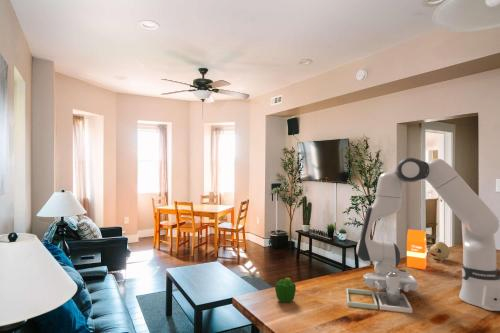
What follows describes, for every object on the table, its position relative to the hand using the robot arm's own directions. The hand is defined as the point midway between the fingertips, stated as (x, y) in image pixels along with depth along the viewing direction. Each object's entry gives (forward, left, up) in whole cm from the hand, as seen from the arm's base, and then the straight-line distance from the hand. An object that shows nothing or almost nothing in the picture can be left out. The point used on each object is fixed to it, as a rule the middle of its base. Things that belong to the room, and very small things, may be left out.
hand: (393, 288), depth 123 cm
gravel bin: (0, -1, -8) cm, 8 cm away
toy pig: (-37, -73, -8) cm, 82 cm away
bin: (+12, -1, -8) cm, 14 cm away
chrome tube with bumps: (0, -1, -6) cm, 6 cm away
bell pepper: (+42, +4, -8) cm, 43 cm away
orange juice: (-22, -58, -8) cm, 62 cm away
